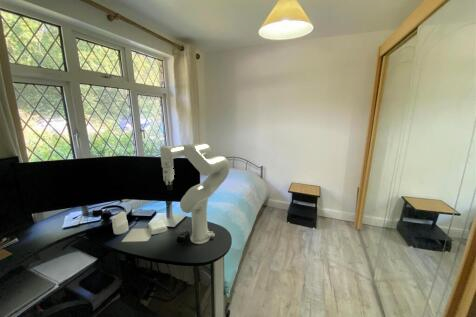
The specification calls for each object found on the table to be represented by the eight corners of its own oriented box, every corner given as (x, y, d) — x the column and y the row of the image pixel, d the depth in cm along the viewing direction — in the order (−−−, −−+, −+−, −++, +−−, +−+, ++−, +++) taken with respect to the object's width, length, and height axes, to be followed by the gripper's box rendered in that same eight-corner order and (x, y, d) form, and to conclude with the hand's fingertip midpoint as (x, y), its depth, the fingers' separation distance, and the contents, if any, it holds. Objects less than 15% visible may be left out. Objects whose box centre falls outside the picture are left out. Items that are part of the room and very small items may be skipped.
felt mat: (155, 228, 138) (155, 228, 138) (147, 241, 125) (147, 240, 125) (132, 229, 138) (132, 228, 138) (121, 242, 124) (121, 241, 124)
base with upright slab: (121, 225, 142) (119, 210, 139) (131, 227, 140) (129, 212, 137) (110, 233, 134) (107, 217, 131) (121, 235, 131) (118, 218, 129)
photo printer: (167, 231, 135) (162, 223, 145) (167, 225, 135) (162, 218, 144) (151, 235, 129) (147, 227, 139) (151, 229, 129) (147, 221, 138)
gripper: (169, 167, 125) (172, 194, 129) (176, 161, 140) (178, 185, 144) (157, 167, 125) (160, 194, 129) (165, 161, 139) (167, 186, 144)
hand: (169, 189), depth 136 cm, fingers closed
